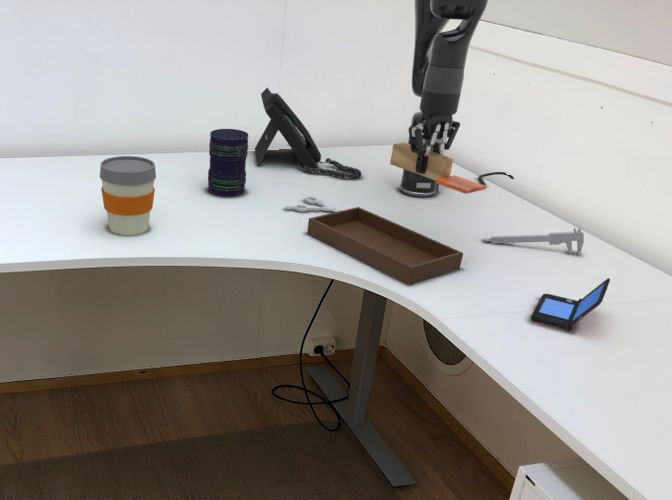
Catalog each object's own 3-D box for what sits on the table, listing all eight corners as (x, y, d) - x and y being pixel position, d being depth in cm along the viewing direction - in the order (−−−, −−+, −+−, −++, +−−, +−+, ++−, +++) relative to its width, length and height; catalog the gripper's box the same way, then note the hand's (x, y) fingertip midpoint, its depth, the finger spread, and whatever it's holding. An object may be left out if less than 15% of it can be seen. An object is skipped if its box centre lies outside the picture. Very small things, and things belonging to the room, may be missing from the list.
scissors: (302, 194, 204) (377, 209, 196) (302, 197, 204) (376, 212, 196) (285, 206, 196) (362, 222, 188) (285, 209, 196) (361, 225, 188)
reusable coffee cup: (131, 214, 191) (130, 152, 183) (166, 229, 183) (167, 165, 175) (90, 226, 183) (87, 162, 175) (125, 242, 175) (124, 176, 168)
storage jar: (201, 193, 205) (203, 135, 197) (215, 182, 213) (217, 126, 205) (237, 199, 202) (241, 141, 194) (250, 188, 209) (254, 131, 202)
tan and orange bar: (404, 161, 177) (407, 141, 175) (484, 189, 162) (489, 167, 160) (385, 165, 174) (388, 144, 172) (465, 194, 159) (470, 172, 157)
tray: (356, 221, 191) (358, 206, 189) (459, 269, 169) (463, 252, 167) (306, 233, 183) (308, 218, 181) (408, 285, 161) (411, 268, 159)
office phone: (362, 180, 218) (373, 106, 208) (260, 177, 218) (265, 102, 207) (346, 150, 243) (355, 82, 233) (254, 146, 243) (259, 78, 233)
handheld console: (541, 297, 158) (551, 263, 154) (599, 312, 153) (611, 277, 149) (528, 321, 149) (538, 286, 145) (589, 338, 144) (602, 301, 140)
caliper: (579, 253, 178) (587, 227, 175) (579, 255, 177) (587, 229, 174) (484, 240, 183) (490, 215, 180) (484, 242, 182) (490, 216, 179)
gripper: (433, 95, 154) (417, 181, 163) (479, 88, 161) (461, 171, 170) (404, 87, 160) (390, 171, 168) (450, 81, 167) (434, 162, 176)
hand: (426, 171), depth 169 cm, fingers closed on tan and orange bar, 3 cm apart
